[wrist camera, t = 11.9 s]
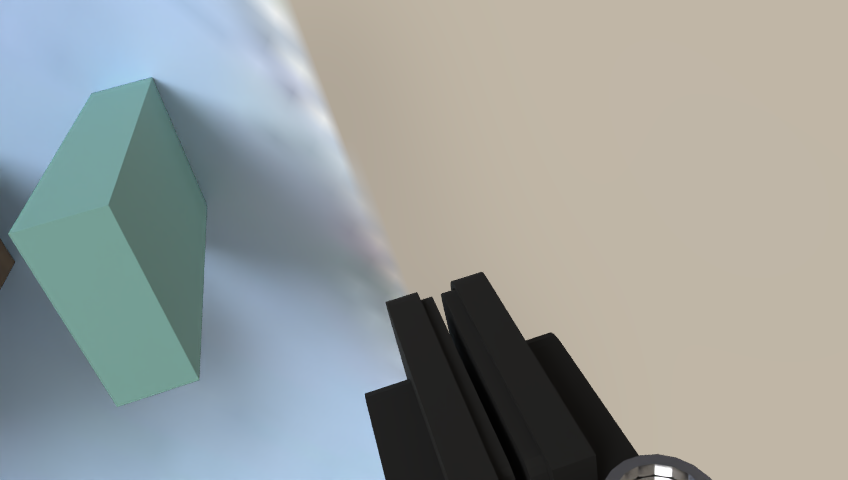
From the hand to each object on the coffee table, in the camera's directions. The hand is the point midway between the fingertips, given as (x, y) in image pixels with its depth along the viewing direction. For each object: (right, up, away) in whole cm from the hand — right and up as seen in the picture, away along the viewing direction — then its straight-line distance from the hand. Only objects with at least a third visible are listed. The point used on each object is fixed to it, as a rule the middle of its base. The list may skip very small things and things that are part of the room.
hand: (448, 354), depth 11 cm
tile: (-10, +5, +12) cm, 16 cm away
